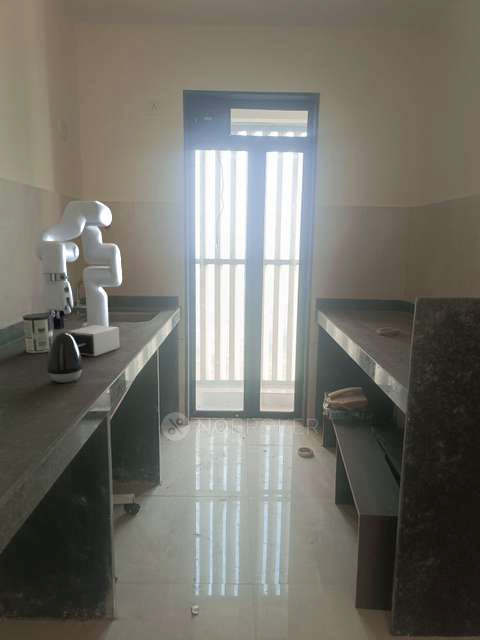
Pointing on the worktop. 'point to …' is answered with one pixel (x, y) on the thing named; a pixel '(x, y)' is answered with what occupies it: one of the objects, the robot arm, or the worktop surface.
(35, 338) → the coffee can
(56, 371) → the dark grey rounded dome
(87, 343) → the dark grey storage bin
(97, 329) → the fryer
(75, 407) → the worktop surface
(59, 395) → the worktop surface
